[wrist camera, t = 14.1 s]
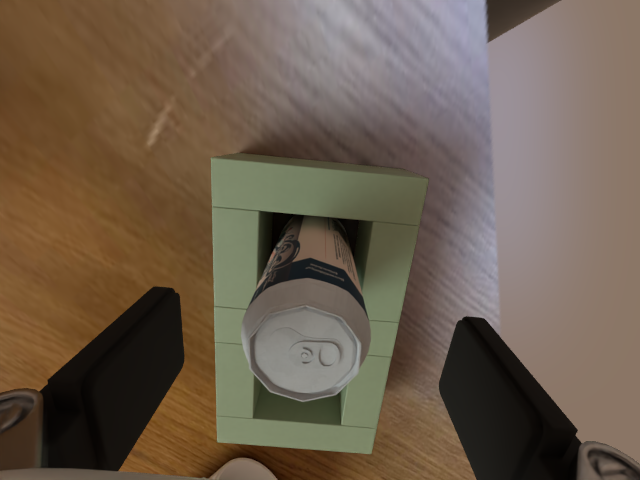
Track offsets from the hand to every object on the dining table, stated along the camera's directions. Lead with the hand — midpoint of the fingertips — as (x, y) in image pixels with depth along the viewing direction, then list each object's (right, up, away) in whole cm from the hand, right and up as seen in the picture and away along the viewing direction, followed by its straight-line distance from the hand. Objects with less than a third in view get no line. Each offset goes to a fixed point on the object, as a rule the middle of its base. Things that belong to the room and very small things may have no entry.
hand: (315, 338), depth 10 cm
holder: (-1, -1, +13) cm, 13 cm away
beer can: (0, +3, +12) cm, 12 cm away
